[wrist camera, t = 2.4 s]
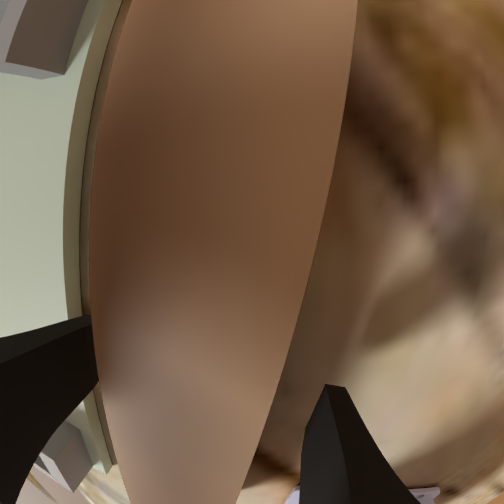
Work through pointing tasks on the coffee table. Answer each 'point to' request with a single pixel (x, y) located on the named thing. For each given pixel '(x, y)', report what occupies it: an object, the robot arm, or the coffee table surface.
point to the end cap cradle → (49, 188)
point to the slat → (208, 227)
